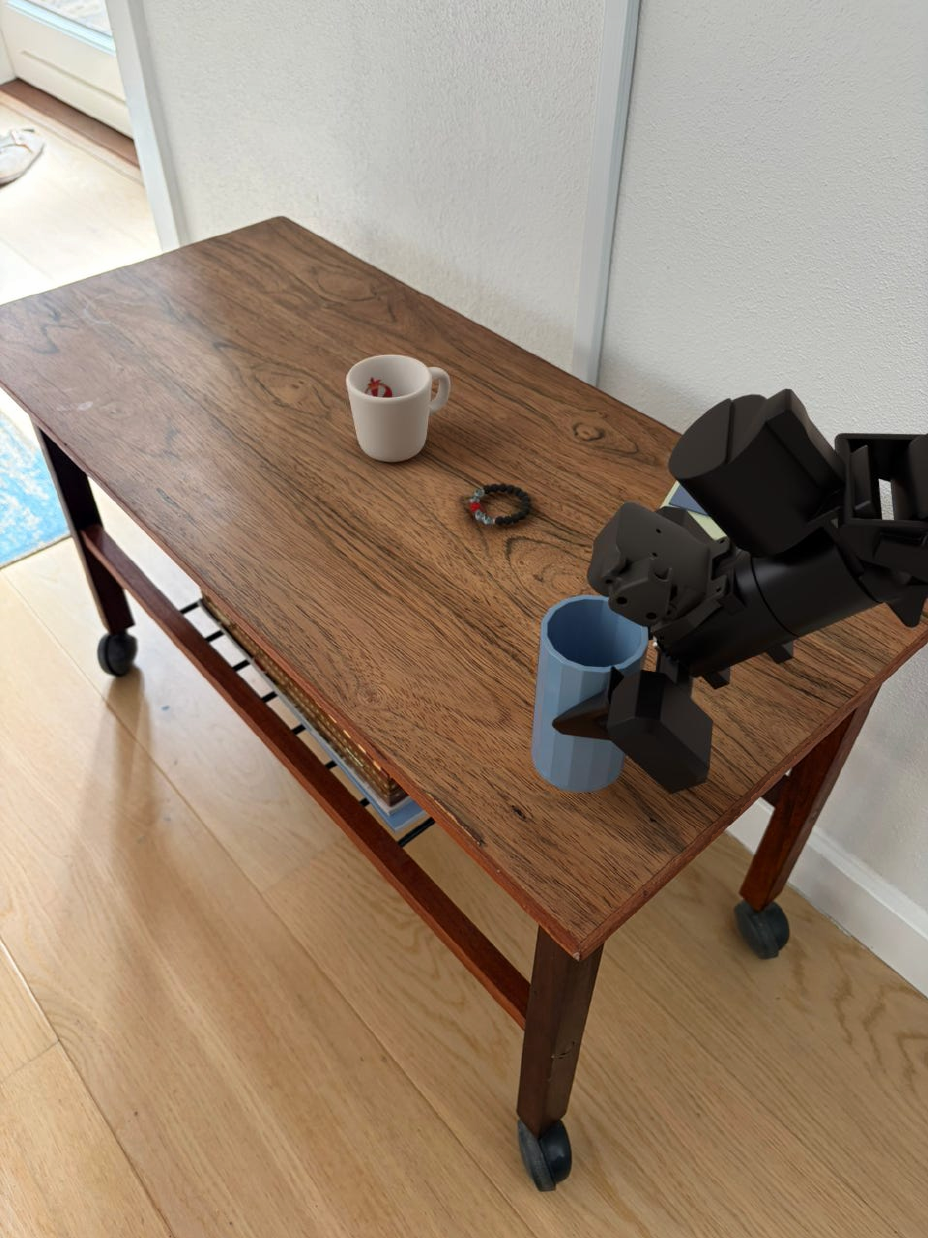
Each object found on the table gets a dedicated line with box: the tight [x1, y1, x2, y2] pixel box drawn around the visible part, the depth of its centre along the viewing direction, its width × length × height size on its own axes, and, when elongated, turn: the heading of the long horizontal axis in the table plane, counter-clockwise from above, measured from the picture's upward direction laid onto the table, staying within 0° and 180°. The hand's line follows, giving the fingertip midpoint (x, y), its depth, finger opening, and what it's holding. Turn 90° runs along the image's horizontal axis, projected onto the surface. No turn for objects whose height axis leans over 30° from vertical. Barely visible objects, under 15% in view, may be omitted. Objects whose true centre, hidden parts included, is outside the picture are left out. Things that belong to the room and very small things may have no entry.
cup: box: [345, 354, 451, 463], centre depth 98 cm, size 11×8×8 cm
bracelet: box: [469, 482, 533, 527], centre depth 93 cm, size 6×6×1 cm
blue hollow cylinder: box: [530, 594, 650, 794], centre depth 65 cm, size 6×6×12 cm
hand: (564, 686), depth 65 cm, fingers closed on blue hollow cylinder, 6 cm apart
